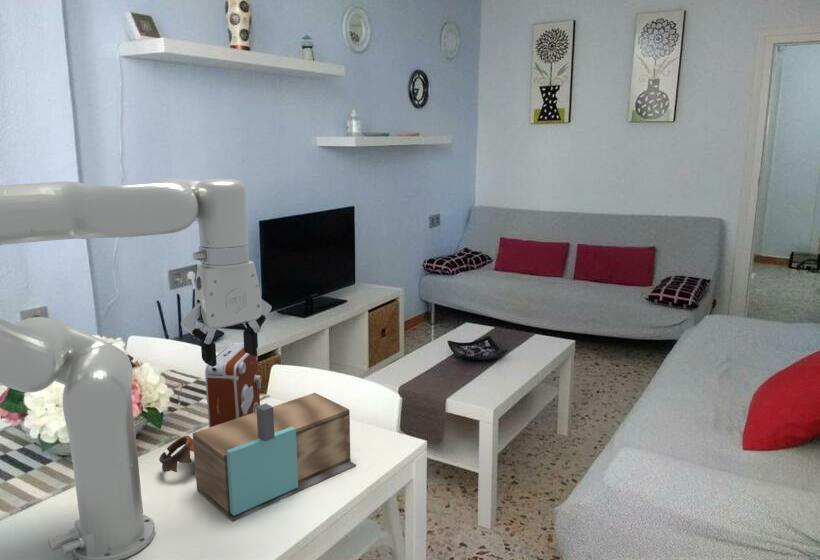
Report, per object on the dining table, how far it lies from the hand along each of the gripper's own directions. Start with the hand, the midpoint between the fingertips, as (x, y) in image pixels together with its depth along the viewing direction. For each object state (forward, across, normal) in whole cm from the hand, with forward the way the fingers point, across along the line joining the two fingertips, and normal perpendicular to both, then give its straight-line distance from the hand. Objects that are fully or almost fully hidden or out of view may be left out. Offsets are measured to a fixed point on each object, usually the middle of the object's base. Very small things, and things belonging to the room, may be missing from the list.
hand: (230, 358), depth 107 cm
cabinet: (+30, +12, +7) cm, 33 cm away
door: (+29, +5, 0) cm, 29 cm away
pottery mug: (+30, +1, +21) cm, 37 cm away
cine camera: (+30, +17, +30) cm, 46 cm away
